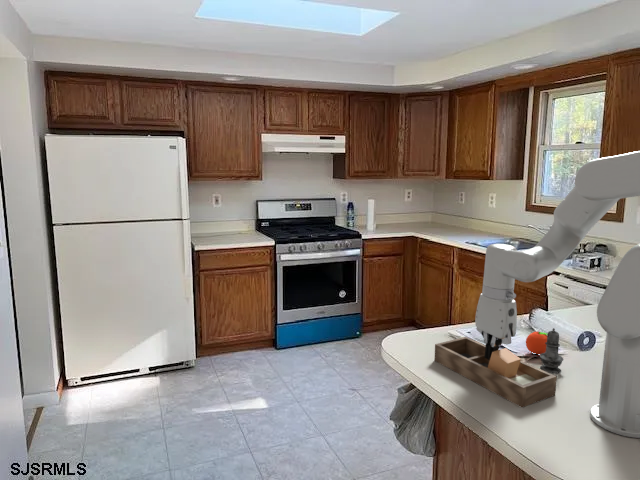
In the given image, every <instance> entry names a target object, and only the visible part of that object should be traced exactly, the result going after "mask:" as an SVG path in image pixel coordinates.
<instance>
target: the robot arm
mask: <svg viewBox="0 0 640 480" xmlns="http://www.w3.org/2000/svg"><path fill="white" fill-rule="evenodd" d="M634 197H635V198H636V197H640V150H638V151H633V152H628V153H623V154H618V155H613V156H605V157H601V158H596V159H595V158H594V159H591V160H590V161H587V162H586V163H584V164H583V165H582V166H581V167H580V168H579V169H578V170H577V172H576V174H575V178H574V187H573V188H572V189H571V190H570V192H569V193H568V194H566V196H565V197H564V198H563V199H562V200H561V201H560V203H559V204H558V205H557V206H556V208H555V209H554V211H553V223H552V225H551V226H550V228H549V229H548V231H547V232H546V234H544V236H543V237H542V238H541V239H540V240H539V241H538V242H537V244H535V246H534V247H531V248H527V249H523V250H518V249H517V248H516V247H515V246H513V245H511V244H505V243H491V244H489V245H488V246H487V247H486V250H485V260H484V271H483V280H482V291H481V293H480V294H479V297H478V303H477V305H476V312H475V318H474V319H475V321H474V322H475V323H474V324H475V327H476V331H477V332H478V333H479V334H481V336H482V337H483V343H484V345H486V347H485V358H486V359H488V360H490V358H491V355H492V352H494V351H497V350H500V346H502V345H511V344H512V337H515V336H516V333H517V322H518V319H517V318H518V315H517V313H518V310H517V302H516V300H515V299H516V298H517V294H516V293H515V292H514V291H515V281H516V280H517V281H519V282H522V283H533V282H535V281H537V280H539V279H541V278H543V277H546V276H548V275H550V274H552V273H553V272H554V271H555V270H557V269H558V268H559V266H561V264H563V263H564V261H565V260H566V259H568V258H569V257H570V255H571V254H572V253H573V252H574V251H575V250H576V249H577V248H578V246H579V245H580V243H581V242H582V241H583V240H584V239H585V238H586V236H587V234H588V233H589V232H590V231H591V229H593V228H594V226H595V225H597V223H599V222H600V220H601V219H602V218H603V217H604V216H605V215H606V214H607V213H608V211H610V210H611V208H612V207H614V206H615V205H616V204H617V202H619V200H620V199H626V198H627V199H628V198H634ZM596 317H597V318H596V319H597V322H598V324H599V326H600V327H601V328H602V330H603V331H605V332H606V335H605V344H604V352H603V359H602V360H603V361H602V370H601V379H600V381H601V382H600V391H599V398H598V399H599V400H598V403H597V404H595V405H592V407H591V408H590V410H589V415H590V419H591V420H592V421H593V422H594V423H595V424H596V425H598V426H599V427H601V428H602V429H604V430H607V431H609V432H611V433H613V434H617V435H619V436H620V435H621V436H623V437H629V438H635V439H640V242H639V243H638V244H636V245H633V247H631V248H630V249H629V250H627V251H626V252H625V254H624V255H623V256H622V258H621V260H620V261H619V263H618V265H617V267H616V269H615V271H614V272H613V275H612V276H611V278H610V280H609V282H608V285H606V288H605V290H604V292H603V293H602V295H601V297H600V299H599V301H598V304H597V308H596Z"/></svg>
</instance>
